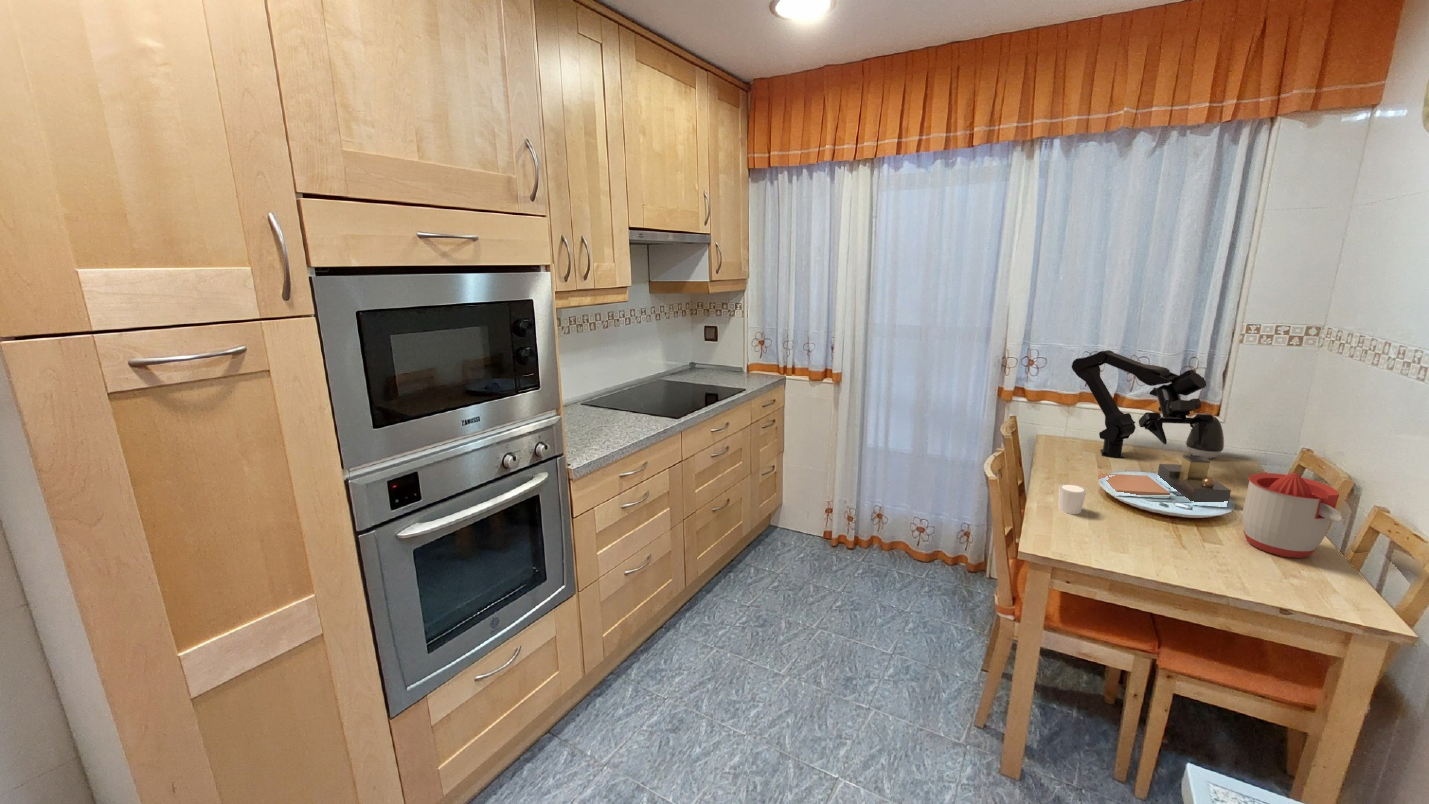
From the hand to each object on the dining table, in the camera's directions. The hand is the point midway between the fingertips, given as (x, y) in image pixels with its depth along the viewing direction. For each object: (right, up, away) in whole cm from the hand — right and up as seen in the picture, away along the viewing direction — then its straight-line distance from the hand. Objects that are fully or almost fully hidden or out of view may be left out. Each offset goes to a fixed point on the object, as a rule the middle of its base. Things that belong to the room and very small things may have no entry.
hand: (1182, 444), depth 178 cm
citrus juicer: (-6, -24, -37) cm, 44 cm away
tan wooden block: (-1, -11, -5) cm, 12 cm away
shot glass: (-44, -19, -12) cm, 49 cm away
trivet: (-16, -14, 0) cm, 21 cm away
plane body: (-1, -15, -4) cm, 15 cm away
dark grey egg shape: (+27, -6, +24) cm, 37 cm away
